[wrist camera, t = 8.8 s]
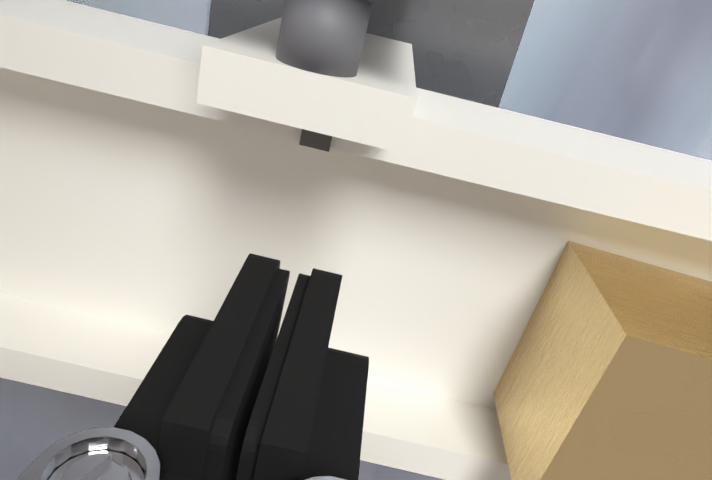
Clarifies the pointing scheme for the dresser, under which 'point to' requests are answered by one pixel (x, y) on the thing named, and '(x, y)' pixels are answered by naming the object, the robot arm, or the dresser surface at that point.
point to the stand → (423, 38)
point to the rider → (611, 375)
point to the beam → (301, 209)
